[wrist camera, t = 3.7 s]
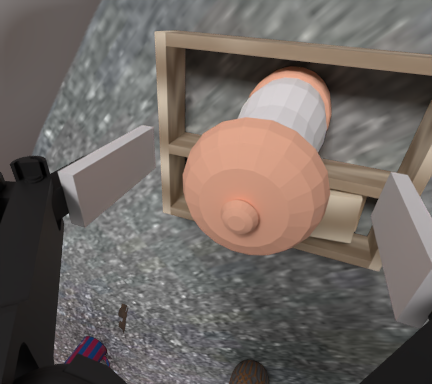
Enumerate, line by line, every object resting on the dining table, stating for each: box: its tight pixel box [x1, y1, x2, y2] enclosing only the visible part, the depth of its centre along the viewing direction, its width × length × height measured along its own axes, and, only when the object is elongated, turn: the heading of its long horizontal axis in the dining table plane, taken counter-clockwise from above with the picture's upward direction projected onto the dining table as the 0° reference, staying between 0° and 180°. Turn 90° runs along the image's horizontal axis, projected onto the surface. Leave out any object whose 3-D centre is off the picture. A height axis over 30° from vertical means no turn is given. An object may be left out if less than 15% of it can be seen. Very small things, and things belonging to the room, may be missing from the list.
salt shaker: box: [183, 66, 331, 255], centre depth 19 cm, size 7×7×19 cm
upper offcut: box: [310, 188, 362, 243], centre depth 29 cm, size 5×16×2 cm, turn 92°
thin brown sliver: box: [118, 304, 128, 333], centre depth 59 cm, size 12×3×1 cm, turn 162°
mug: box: [64, 336, 110, 367], centre depth 68 cm, size 7×10×7 cm
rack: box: [155, 30, 432, 272], centre depth 27 cm, size 19×24×4 cm
